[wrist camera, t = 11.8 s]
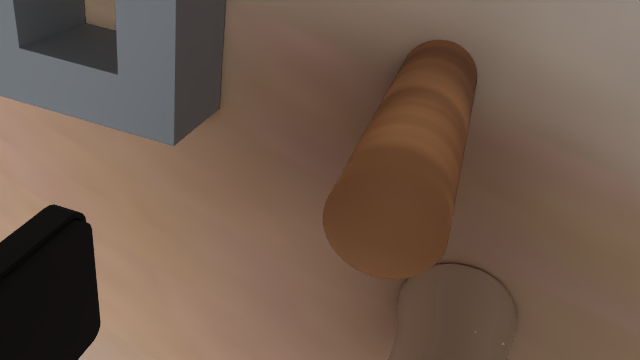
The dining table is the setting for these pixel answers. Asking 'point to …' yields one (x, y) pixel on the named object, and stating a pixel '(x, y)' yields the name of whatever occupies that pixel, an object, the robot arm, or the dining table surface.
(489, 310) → the beer glass
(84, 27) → the hole block
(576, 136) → the dining table surface
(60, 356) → the robot arm
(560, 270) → the dining table surface
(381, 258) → the dowel
